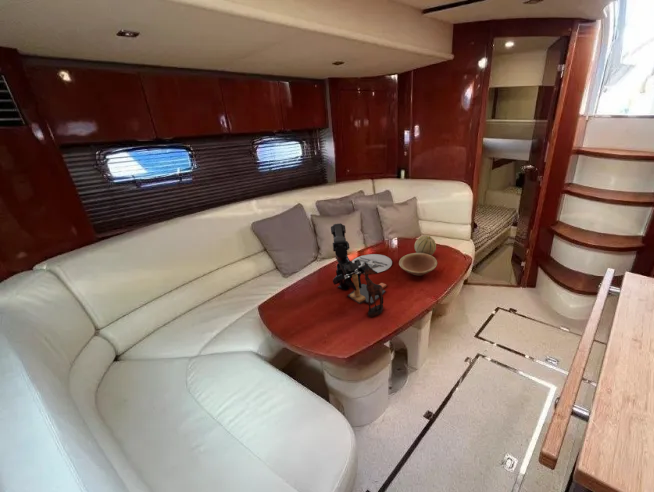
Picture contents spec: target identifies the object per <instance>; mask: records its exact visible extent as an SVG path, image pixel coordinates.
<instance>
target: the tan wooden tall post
mask: <svg viewBox="0 0 654 492" xmlns="http://www.w3.org/2000/svg"><path fill="white" fill-rule="evenodd" d="M351 280H352V282H353V284H354V286H355V287H356V291H355V290H354V289H353V291H354V292H353V291H352V292H353V293H352V294H350V293H349V294H350V297H349V298H350V299H351V300H352V301H353V302H355V303H357V304H358V305H362V304H363V303H365V301H366V298H365V297H364V296H363V295H361V294H360V290H359V282H358V275H357V274H353V275H352V278H351Z"/></svg>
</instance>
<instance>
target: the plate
mask: <svg viewBox="0 0 654 492" xmlns="http://www.w3.org/2000/svg"><path fill="white" fill-rule="evenodd" d="M358 259H359V261H360V262H361V265H360V266H359V267H361V266H363V265H365V262H366V263H367V264H368V265H369V267H370V268H372V269H373V270H375V271H376V272H377V274H379V273H382V272H383V273H384V272H385V271H387V270H389V269H390V268H391V267H392V265H393V261H392V259H391V258H390V257H389V256H386V255H384V254H377V253H370V254H369V253H368V254H364V255H360V256H357V257H355V258H354V259H353V260H351V261H352V263H354V262H355V260H358ZM356 270H357V269H356ZM356 270H355V271H356ZM362 275H364V273H363V274H362Z"/></svg>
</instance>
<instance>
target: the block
mask: <svg viewBox="0 0 654 492" xmlns="http://www.w3.org/2000/svg"><path fill="white" fill-rule="evenodd" d="M377 285H381V286H382V288H383V289H385V288H386V287H387V286H388V285H387V284H386V283H384V282H380V283H378V284H377Z"/></svg>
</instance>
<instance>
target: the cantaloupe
mask: <svg viewBox="0 0 654 492" xmlns="http://www.w3.org/2000/svg"><path fill="white" fill-rule="evenodd" d="M413 248H414V251H415V253H425V254H429V255H431V256H433V255H434V254H435V252H436V250H437V243H436V241H435V239H434V238H433V237H432V236H431V235H422V236H419V237H418V238H417V239H416V240H415V242H414V247H413Z"/></svg>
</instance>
